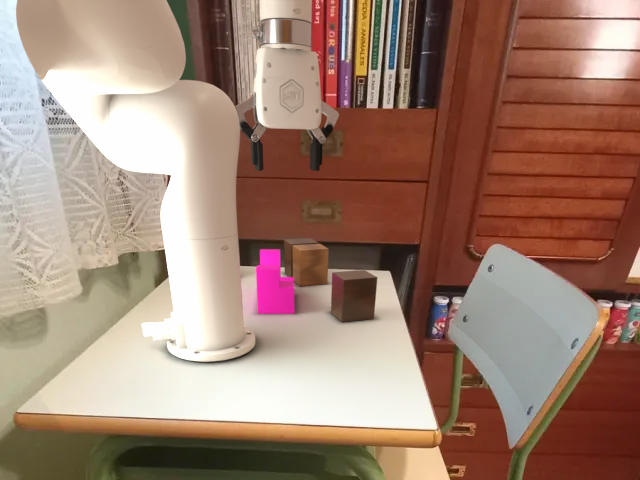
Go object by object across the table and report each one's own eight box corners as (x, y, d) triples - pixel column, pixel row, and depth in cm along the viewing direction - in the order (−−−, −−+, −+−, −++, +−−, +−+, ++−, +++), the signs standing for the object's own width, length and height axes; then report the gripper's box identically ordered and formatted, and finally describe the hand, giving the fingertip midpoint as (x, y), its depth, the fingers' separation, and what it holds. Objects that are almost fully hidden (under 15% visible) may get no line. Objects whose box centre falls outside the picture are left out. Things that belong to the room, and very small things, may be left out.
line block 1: (291, 278, 102) (290, 244, 98) (284, 272, 106) (283, 239, 102) (317, 276, 104) (318, 242, 100) (310, 270, 108) (310, 238, 104)
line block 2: (341, 322, 80) (343, 280, 76) (330, 312, 84) (332, 272, 80) (374, 318, 82) (377, 277, 78) (361, 309, 86) (364, 269, 82)
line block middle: (300, 286, 97) (300, 250, 94) (292, 279, 101) (292, 245, 98) (327, 284, 99) (328, 248, 96) (319, 277, 103) (320, 243, 100)
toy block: (294, 313, 83) (294, 269, 79) (258, 313, 83) (255, 269, 79) (293, 288, 96) (293, 249, 92) (262, 288, 96) (260, 249, 92)
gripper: (232, 30, 66) (240, 172, 75) (349, 41, 71) (343, 172, 80) (223, 38, 72) (231, 168, 81) (331, 47, 77) (328, 168, 86)
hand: (287, 170), depth 80 cm, fingers open, 9 cm apart
